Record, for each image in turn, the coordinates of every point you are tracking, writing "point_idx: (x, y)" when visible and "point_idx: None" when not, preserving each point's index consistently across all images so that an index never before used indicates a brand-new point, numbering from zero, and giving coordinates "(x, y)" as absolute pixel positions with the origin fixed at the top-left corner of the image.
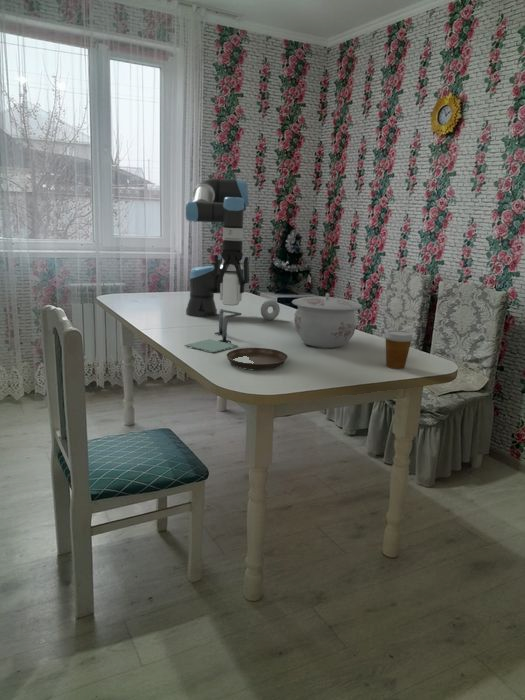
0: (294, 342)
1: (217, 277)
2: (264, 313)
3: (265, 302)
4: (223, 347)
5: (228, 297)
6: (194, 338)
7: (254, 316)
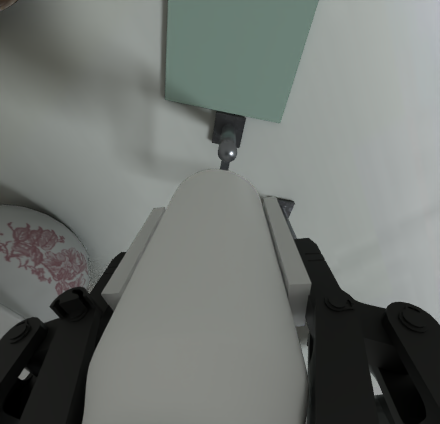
0: (95, 229)
1: (392, 372)
2: None
3: None
4: (181, 29)
5: (200, 186)
6: (334, 122)
7: None
